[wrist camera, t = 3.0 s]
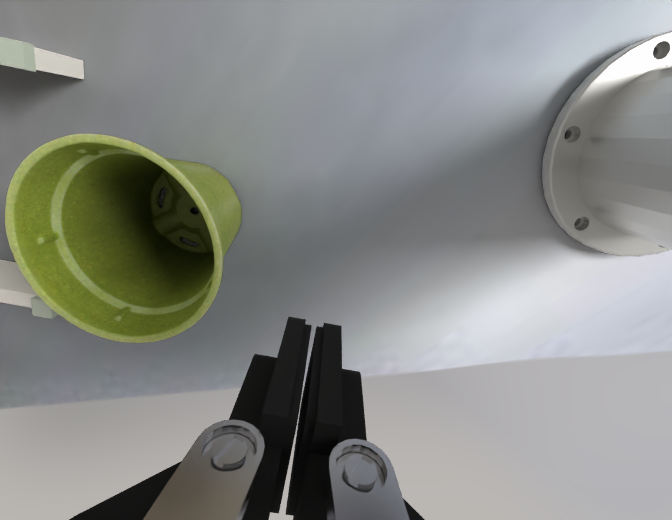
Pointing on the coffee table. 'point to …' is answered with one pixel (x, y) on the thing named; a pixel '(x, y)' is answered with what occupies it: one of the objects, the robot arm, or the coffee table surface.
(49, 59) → the corral
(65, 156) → the plant pot
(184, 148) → the coffee table surface
